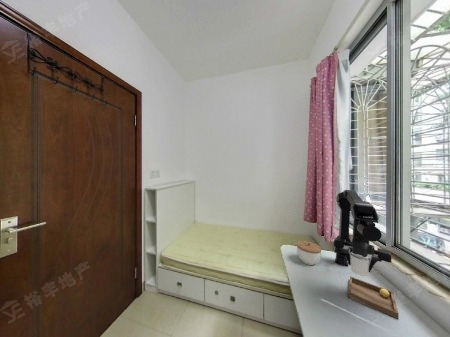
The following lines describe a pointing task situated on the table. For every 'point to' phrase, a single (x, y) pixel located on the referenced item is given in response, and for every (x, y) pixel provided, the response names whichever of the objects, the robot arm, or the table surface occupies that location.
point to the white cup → (359, 264)
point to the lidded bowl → (308, 252)
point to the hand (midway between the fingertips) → (359, 268)
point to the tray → (372, 297)
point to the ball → (384, 292)
